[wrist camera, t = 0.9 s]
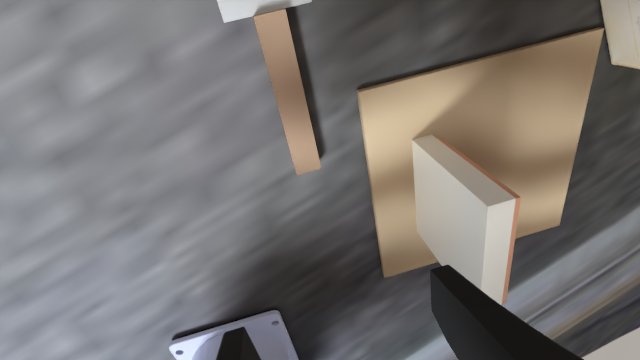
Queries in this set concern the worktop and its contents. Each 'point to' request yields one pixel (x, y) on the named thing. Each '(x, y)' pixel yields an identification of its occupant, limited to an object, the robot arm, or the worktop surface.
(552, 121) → the mat
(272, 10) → the spatula
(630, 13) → the coffeecake box
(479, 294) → the robot arm
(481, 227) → the tile
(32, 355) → the worktop surface
